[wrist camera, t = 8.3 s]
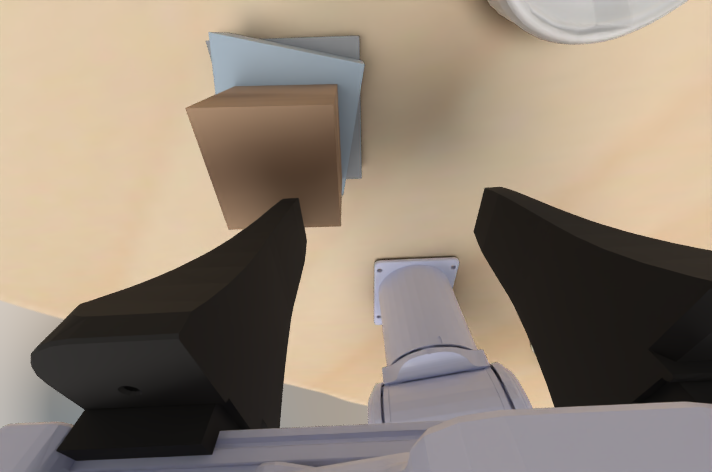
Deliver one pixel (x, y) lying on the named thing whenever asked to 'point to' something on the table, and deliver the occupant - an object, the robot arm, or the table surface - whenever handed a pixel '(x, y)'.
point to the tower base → (340, 47)
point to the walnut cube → (272, 150)
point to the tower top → (289, 74)
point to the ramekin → (583, 17)
